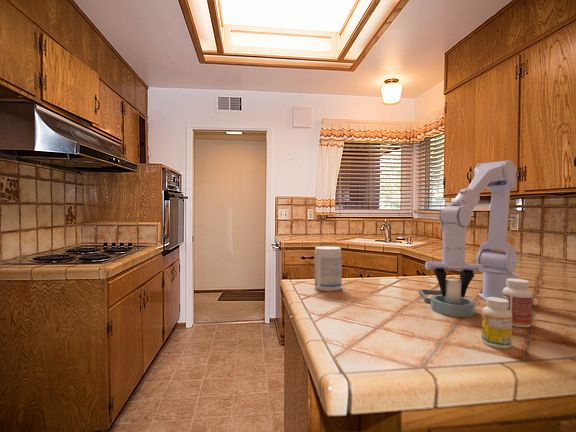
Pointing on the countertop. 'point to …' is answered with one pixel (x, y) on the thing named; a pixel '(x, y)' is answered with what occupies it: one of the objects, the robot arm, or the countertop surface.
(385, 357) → the countertop surface
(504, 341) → the supplement bottle
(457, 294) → the pestle
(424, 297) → the empty gray rectangular frame
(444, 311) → the bowl
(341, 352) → the countertop surface
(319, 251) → the supplement tub
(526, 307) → the pill bottle
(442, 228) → the robot arm
